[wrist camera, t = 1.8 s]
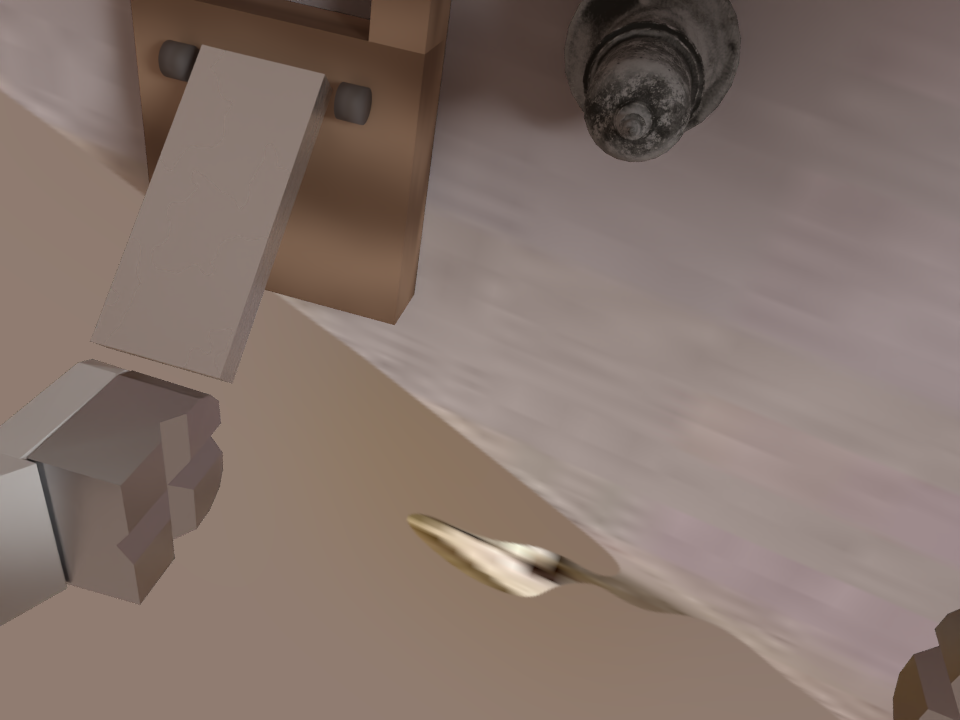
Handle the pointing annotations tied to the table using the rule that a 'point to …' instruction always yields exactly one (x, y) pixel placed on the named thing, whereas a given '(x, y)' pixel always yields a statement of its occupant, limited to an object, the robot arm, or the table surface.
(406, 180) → the walnut holder
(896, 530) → the table surface
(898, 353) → the table surface
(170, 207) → the latch bar
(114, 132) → the table surface
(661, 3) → the weathered chess piece
